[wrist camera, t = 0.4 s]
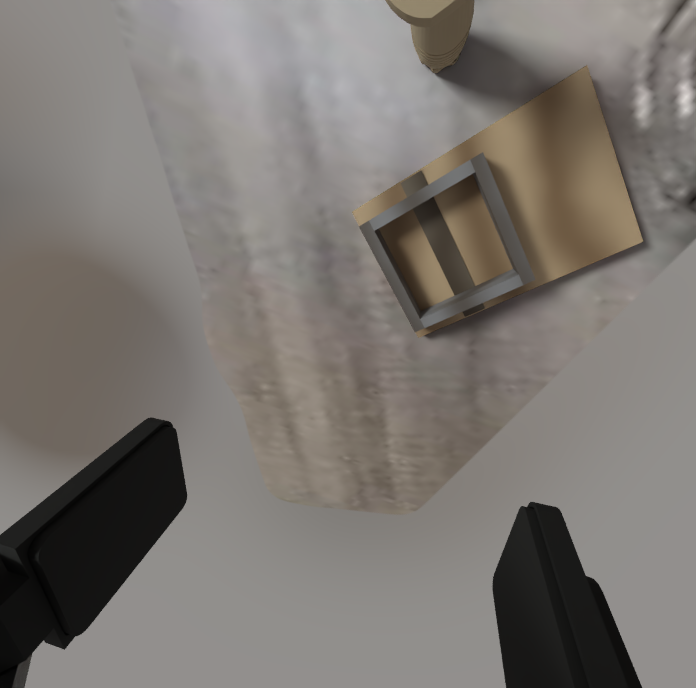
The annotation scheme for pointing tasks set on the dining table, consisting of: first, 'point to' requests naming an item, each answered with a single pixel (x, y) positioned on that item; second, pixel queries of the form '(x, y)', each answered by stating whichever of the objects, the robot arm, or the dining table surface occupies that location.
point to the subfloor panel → (504, 210)
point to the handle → (436, 28)
